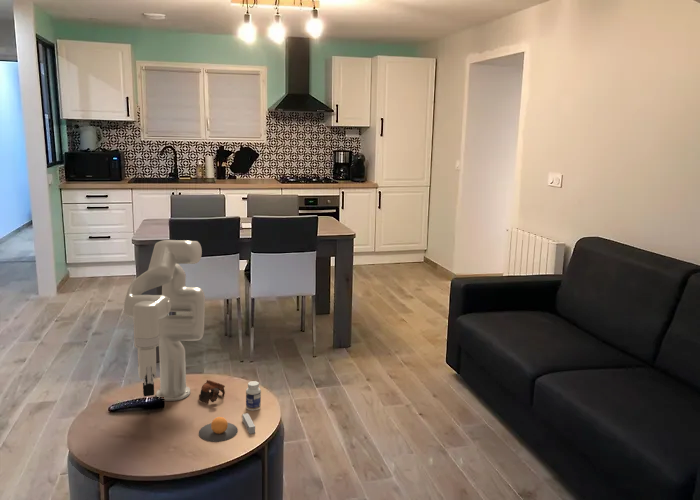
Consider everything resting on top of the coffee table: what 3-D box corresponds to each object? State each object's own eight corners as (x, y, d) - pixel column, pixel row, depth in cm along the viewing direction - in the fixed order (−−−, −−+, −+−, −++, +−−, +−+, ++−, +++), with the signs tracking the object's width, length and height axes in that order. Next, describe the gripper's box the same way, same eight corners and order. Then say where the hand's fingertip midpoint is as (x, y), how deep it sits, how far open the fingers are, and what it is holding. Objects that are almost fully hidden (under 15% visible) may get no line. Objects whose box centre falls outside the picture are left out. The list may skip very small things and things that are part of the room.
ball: (221, 411, 197) (229, 422, 199) (207, 420, 196) (215, 432, 198) (222, 418, 192) (231, 430, 194) (208, 427, 191) (217, 439, 193)
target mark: (196, 425, 200) (196, 425, 200) (234, 420, 204) (234, 419, 204) (201, 444, 188) (201, 443, 188) (241, 438, 193) (240, 437, 193)
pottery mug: (193, 398, 221) (201, 377, 223) (215, 405, 225) (223, 384, 228) (203, 403, 211) (211, 381, 213) (226, 410, 215) (233, 388, 217)
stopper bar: (242, 420, 204) (242, 414, 204) (248, 419, 205) (248, 413, 205) (249, 434, 196) (249, 427, 195) (255, 433, 196) (255, 426, 196)
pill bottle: (243, 407, 214) (243, 382, 213) (255, 402, 218) (255, 379, 216) (251, 412, 211) (251, 387, 209) (263, 408, 214) (263, 383, 212)
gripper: (132, 334, 186) (134, 387, 189) (135, 350, 172) (138, 406, 176) (157, 331, 189) (158, 383, 192) (162, 347, 175) (163, 403, 179)
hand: (148, 394), depth 184 cm, fingers closed
